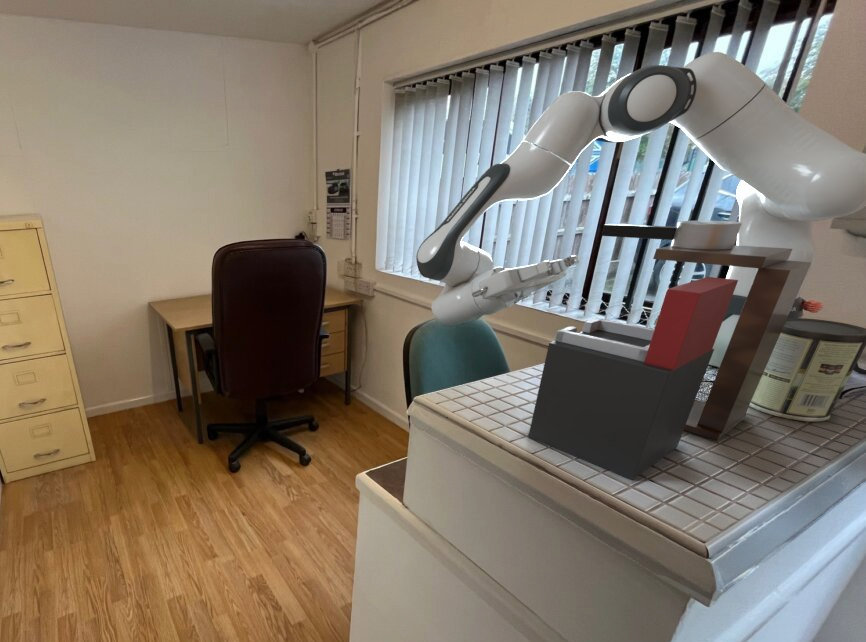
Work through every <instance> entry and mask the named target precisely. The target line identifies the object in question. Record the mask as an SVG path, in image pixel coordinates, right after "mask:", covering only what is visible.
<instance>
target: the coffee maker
mask: <svg viewBox="0 0 866 642" xmlns="http://www.w3.org/2000/svg"><path fill="white" fill-rule="evenodd" d="M737 282H738V280H733V279H726V278H724V277H723V278H722V277H712V276H706V277H702V278H699V279H696V280H692V281H689V282H687V283H683V284H679V285H677V286H673V287H669V288H667V289H666V292H665V295H664V299H663V303H662V305H661V307H660V311H659V315H658V316H659V317H658V316H657V317H658V320H657V324H656V327H655V326H654V328H655V329H654V328H653V327H647V326H641V325H636V324H631V323H626V322H620V321H615V320H610V319H605V318H599V317H595V318H591V319H589V320H585V321H584V323H583V327H582V331H580V332H578V327H575V326H567V327H564V328H561V329H558V330H557V331H556V334H555V339H554V340H553V341H550V342H549V343H548V347H547V350H546V356H545V360H544V364H543V369H542V372H541V373H542V374H541V378H540V382H539V386H538V391H537V395H536V400H535V405H534V408H533V412H532V413H533V414H532V417H531V422H530V426H529V431H528V436H527V437H528V438H530V439H533V440H535V441H538V442H540V443H542V444H544V445H547V446H549V447H552V448H554V449H557V450H559V451H562V452H564V453H566V454H569V455H571V456H573V457H576V458H578V459H581V460H583V461H585V462H588V463H590V464H592V465H594V466H597V467H600V468H602V469H604V470H606V471H609V472H611V473H613V474H616V475H618V476H621V477H623V478H626V479H628V480H631V481H633V480H634V479H636V478H638V477H639V476H640V475H642V474H643V473H645V472H646V471H647V470H648V469H650V468H651V467H653V466H654V465H655V464H656V463H658V462H660V461H662V459H664V458H665V457H666V456H668V455H669V454H670V453H672V452H673V451H674V450H676V449H677V448H678V446H679V443H680V441H681V438H682V435H683V433H684V431H685V430H684V428H685V425H686V422H687V420H688V417H689V415H690V412H691V409H692V407H693V404H694V401H695V399H696V400H697V396H698V393H699V391H700V389H701V385H702V383H703V381H704V377H705V375H706V372H707V370H708V368H709V366H710V365H709V362H710V359H711V357H712V354H713V351H714V349H712V348H713V346H714V343H715V340H716V338H717V335H718V332H719V330H720V327H721V324H722V322H723V319H724V317H725V314H726V311H727V309H728V306H729V303H730V301H731V298H732V295H733V293H734V290H735V287H736V285H737Z"/></svg>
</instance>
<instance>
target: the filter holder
mask: <svg viewBox="0 0 866 642" xmlns="http://www.w3.org/2000/svg"><path fill="white" fill-rule="evenodd" d="M741 224H742V223H740V222H739V221H732V220H731V221H730V220H729V221H728V220H681V221H680V220H679V221H678V222H677V226H668V225H667V226H666V225H641V224H640V225H639V224H617V223H608V224H603V227H602V232H601V234H600V235H601V237H613V238H631V239H647V240H663V241H664V240H665V241H671V245H670V246H672V247H676V248H684V249H697V250H729V249H733V247H734V245H736V242H737V236H738V233H739V230H740V227H741Z"/></svg>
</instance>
